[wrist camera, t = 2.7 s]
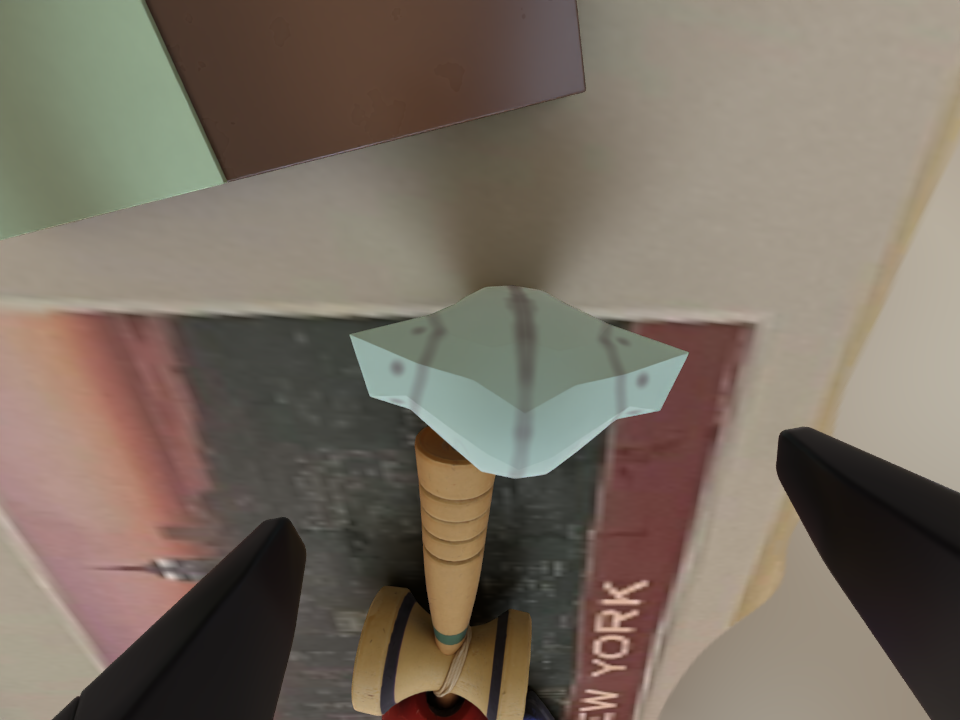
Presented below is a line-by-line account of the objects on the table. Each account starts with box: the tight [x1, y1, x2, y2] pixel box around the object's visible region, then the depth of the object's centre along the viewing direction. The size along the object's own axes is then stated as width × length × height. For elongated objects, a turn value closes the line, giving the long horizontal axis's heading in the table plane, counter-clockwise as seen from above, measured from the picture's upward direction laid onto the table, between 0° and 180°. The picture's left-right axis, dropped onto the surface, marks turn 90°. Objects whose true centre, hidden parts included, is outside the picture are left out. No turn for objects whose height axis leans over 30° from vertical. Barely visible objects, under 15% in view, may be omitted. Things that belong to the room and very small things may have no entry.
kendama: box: [352, 426, 532, 720], centre depth 20 cm, size 8×6×18 cm
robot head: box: [349, 286, 689, 479], centre depth 13 cm, size 8×4×7 cm, turn 86°
